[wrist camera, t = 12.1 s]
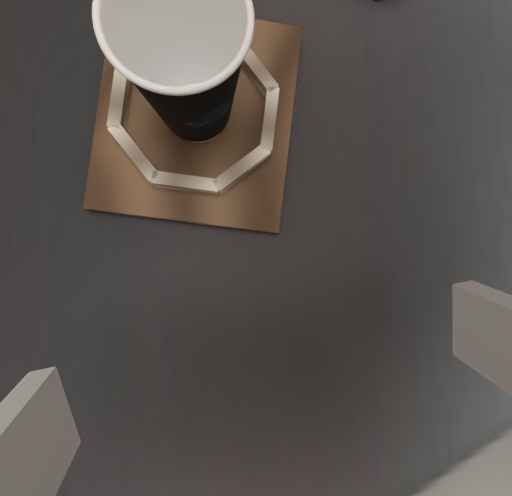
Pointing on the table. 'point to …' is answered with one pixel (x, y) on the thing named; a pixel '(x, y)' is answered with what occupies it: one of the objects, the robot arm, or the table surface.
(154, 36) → the dixie cup
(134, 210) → the board
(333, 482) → the table surface
